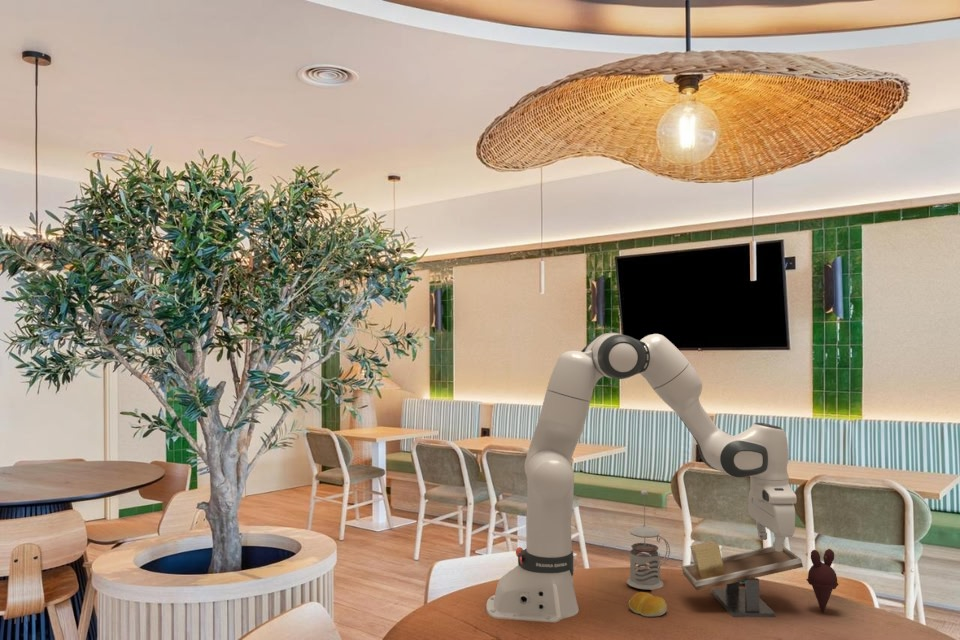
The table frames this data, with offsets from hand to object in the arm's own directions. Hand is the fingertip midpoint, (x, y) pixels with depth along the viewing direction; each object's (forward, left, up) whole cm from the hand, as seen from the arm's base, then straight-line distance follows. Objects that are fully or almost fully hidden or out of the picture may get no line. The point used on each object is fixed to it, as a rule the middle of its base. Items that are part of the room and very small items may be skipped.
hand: (770, 544), depth 174 cm
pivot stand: (-7, 0, -15) cm, 17 cm away
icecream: (+11, -4, -15) cm, 19 cm away
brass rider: (-15, 0, -7) cm, 16 cm away
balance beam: (-7, 0, -7) cm, 10 cm away
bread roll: (-28, -5, -15) cm, 32 cm away
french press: (-27, +16, -15) cm, 35 cm away
